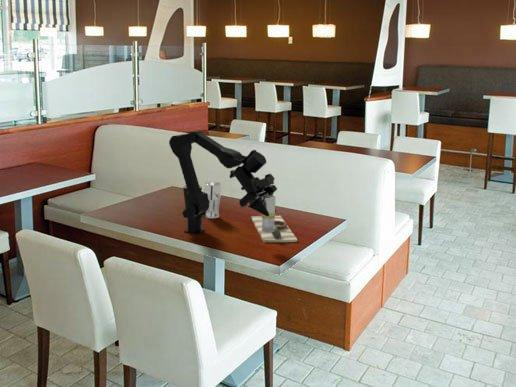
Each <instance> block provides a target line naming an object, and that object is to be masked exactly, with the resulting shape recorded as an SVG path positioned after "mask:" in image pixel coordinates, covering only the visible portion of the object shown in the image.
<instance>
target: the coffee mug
mask: <svg viewBox="0 0 516 387" xmlns="http://www.w3.org/2000/svg"><path fill="white" fill-rule="evenodd" d="M199 187H200V190H201V191H202V189H203V185H201V184H199ZM182 189H183V198H184V199H183V200H184V206H185V207H184V208H185V209H186V208H187V207H188V205H187V199H188V190H187V187H186V184H184V185H183V186H182ZM202 192H203V191H202Z"/></svg>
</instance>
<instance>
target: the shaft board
mask: <svg viewBox="0 0 516 387" xmlns="http://www.w3.org/2000/svg"><path fill="white" fill-rule="evenodd" d="M250 220H251V221H252V223H253V224H254V226H255V227H254V228H256V230H257V232H258V234H259V236H260V239H261V240H262V241H263V243H264V244H265V243H267V244H268V243H297V242H298V239H297V237H296V235H295V234H294V233H293V231H292V230H291V228H290V227H289V226H288V224H287V222H286V221H285V220H284V219H283V217H282V215H275V219H274V232H272V233H266V232H262V214H261V213H260V215H251V217H250Z"/></svg>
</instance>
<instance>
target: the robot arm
mask: <svg viewBox="0 0 516 387" xmlns="http://www.w3.org/2000/svg"><path fill="white" fill-rule="evenodd" d="M168 143H169V148H170V149H171V151H172V152H171V153H173V154H174V156H175V157H177V159H178V162H179V165H180V170H181V171H182V176H183V179H184V183H185V185H186V187H187V190H188V199H187V205H188V207H187V208H185V209H184V210H183V211H182V212H181V213H182V216H183V218H185V219H187V224H186V225H187V228H185V229H184V231H183V232H184V233H190V234H199V235H200V233H202V232H203V231H204V230H205V227H203V224H202V222H203V219H202V217H203V216H205V215H206V211H207V210H208V208H209V203H210V201H209V199H208V195H207V193H205V192H203V191H201V190H200V187H199V185H200V184H199V180H198V177H197V174H196V171H195V169H196V168H195V166H194V164H193V160H192V156H191V155H192V154H191V153H192V149H193V146H192V144H194V143H195V144H196V145H198V146H200V147H201V148H203V149H204V150H206V151H208V153H211V154H212V155H213V156H214V157H215V158H217V159H218V161H219V163H220V164H221V165H222V166H223V167H224V168H225V169H231V170H230V171H229V172H230V173H229V179H233V178H236V180H237V181H238V183H239V184H240V185H241V187H240V189H241V191H245V192H246V193H245V195H243V197H241V198H240V200H239V206H240V207H241V208H242V209H244V208H246V207H248V209H249V208H250V209H252V210H254V211H256V212H258V213H260V215H261V214H263V215H265V216H267V217H268V216H269V213H268V211H267V209H266V208H265V206H264V204H263V196H266V195H271V196H274V193H275V192H277V190H278V187H277V186H276V185H275V182H274V181H275V177H274V175H272V173H267V174H264V178H261V179H260V177H258V176H256V177H255V176H254V174H256V173H257V172H258V171H259V170H260V169H262V168H263V167H264V166H265V165H267V158H266V156H264V155H263V154H262V153H260V152H258V151H257V150H256V149H252V150H251V151H250V152H249V153H248V154H247V155H244V154H242V153H241V152H240V151H238V150H235V149H232V148H229V147H225V146H224V145H222V144H220V143H218V141H216V140H214V139H213V138H211V137H209V136H208V135H207V134H205V133H203V131H201V130H193V131H191V132H188V133H181V134H177V135H176V134H175V135H172V136H171V137H170V139H169V142H168ZM233 168H235V169H233ZM232 169H233V170H232ZM248 204H249V205H248ZM276 213H277V209H276V208H275V214H276Z"/></svg>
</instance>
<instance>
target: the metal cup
mask: <svg viewBox="0 0 516 387" xmlns="http://www.w3.org/2000/svg"><path fill="white" fill-rule="evenodd" d="M276 198H277V197H276V196H275V195H273V196H271V195H266V196H263V204H264V206H265V208H266V209H267V211H268V213H269V216H268V217H267V216H265V215H263V214H262V232H266V233H272V232H274V219H275V216H276V213H275V209H276Z"/></svg>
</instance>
